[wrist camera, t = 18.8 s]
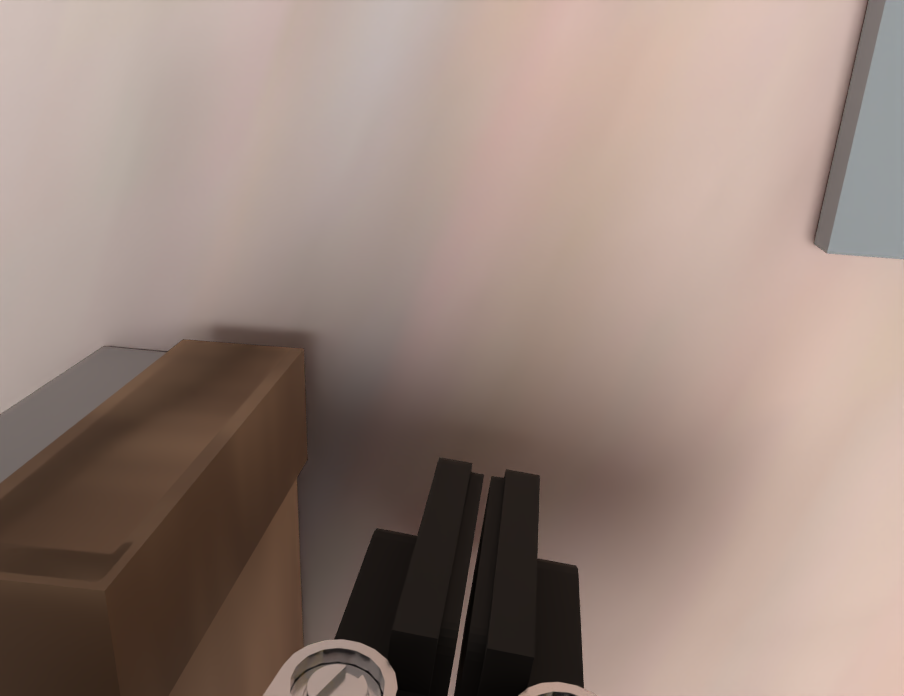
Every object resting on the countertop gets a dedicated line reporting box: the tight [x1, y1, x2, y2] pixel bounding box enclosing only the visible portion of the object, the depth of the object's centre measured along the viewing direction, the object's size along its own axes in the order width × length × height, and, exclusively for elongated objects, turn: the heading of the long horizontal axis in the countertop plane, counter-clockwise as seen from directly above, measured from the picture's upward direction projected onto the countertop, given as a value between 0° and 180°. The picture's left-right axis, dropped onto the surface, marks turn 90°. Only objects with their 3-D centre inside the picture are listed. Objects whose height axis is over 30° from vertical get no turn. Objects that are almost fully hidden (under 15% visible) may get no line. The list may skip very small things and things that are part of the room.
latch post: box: [0, 346, 167, 483], centre depth 11 cm, size 2×2×7 cm
